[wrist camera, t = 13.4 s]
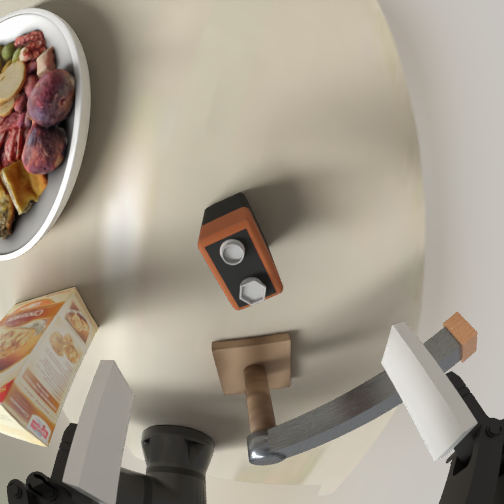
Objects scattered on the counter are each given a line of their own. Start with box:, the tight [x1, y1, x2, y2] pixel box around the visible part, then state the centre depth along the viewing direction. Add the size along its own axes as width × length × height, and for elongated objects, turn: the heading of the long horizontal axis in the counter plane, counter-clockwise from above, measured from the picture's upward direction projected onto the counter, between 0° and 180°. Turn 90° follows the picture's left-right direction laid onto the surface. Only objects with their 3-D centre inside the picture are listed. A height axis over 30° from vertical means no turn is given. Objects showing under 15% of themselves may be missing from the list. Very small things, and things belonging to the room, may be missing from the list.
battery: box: [198, 193, 283, 310], centre depth 24 cm, size 4×7×10 cm, turn 23°
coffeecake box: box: [0, 287, 98, 447], centre depth 22 cm, size 15×7×20 cm, turn 103°
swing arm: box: [247, 312, 477, 465], centre depth 23 cm, size 4×26×4 cm, turn 124°
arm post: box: [212, 333, 291, 433], centre depth 32 cm, size 10×10×12 cm
